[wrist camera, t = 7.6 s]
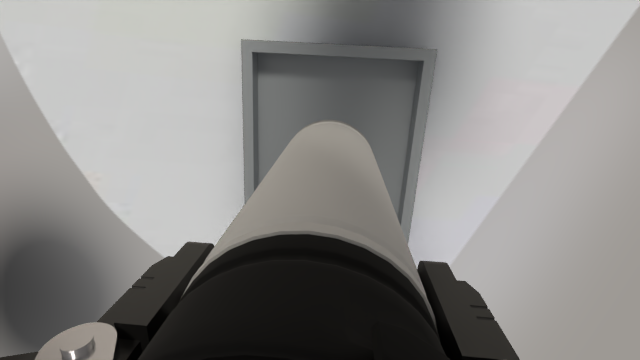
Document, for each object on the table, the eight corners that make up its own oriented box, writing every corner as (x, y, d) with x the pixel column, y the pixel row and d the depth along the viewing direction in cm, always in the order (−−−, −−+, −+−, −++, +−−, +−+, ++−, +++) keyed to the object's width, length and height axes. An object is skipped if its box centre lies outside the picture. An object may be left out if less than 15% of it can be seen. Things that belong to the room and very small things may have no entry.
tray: (249, 41, 26) (241, 39, 24) (429, 51, 26) (437, 49, 23) (251, 226, 31) (245, 237, 29) (402, 237, 31) (406, 250, 28)
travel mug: (395, 151, 23) (634, 515, 4) (337, 219, 25) (324, 680, 6) (323, 95, 22) (217, 242, 3) (269, 170, 24) (7, 534, 5)
